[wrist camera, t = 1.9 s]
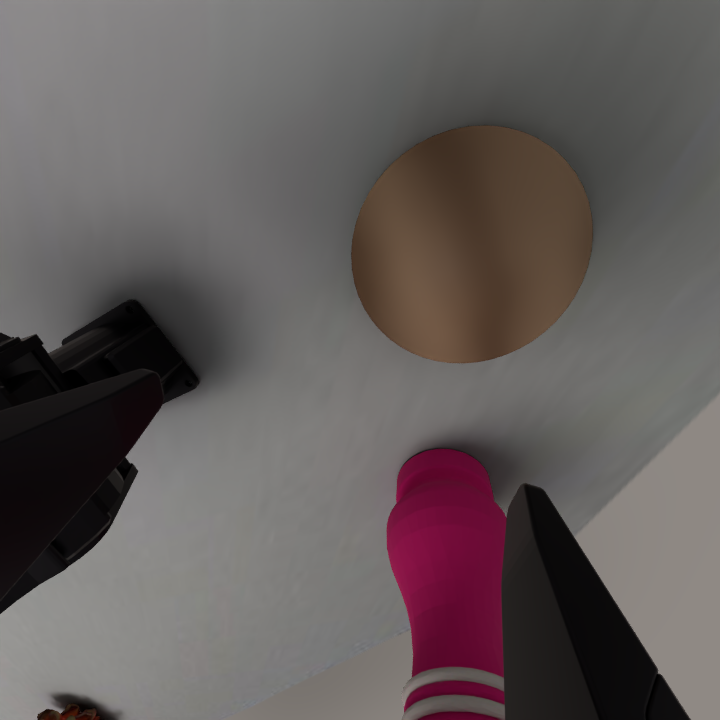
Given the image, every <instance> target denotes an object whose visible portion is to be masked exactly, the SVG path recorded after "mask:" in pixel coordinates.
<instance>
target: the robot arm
mask: <svg viewBox="0 0 720 720" xmlns="http://www.w3.org/2000/svg"><path fill="white" fill-rule="evenodd" d="M130 306H131V307H132V308H133V309H134V311H132V310H131V308H130ZM42 345H43V342H42V341H41V340H40V338H39V337H38V336H37V334H34V335H32V336H29V337H26V338H23V339H20V338H19V337H16V338H14V337H12V338H11V337H9V336H7V335H5V334H2V333H0V614H1V613H2V612H3V611H5V610H6V609H7V608H8V607H9V606H11V605H12V604H13V603H14V602H16V601H17V600H18V599H20V598H21V597H23V596H24V595H25V594H27V593H28V592H30V591H31V590H32V589H34V588H35V587H37V586H38V585H40V584H41V583H43V582H45V581H46V580H48V579H50V578H52V577H53V576H55V575H57V574H59V573H60V572H62V571H64V570H65V569H66V568H67V567H68V566H70V565H71V564H73V563H74V562H75V561H77V560H78V559H80V558H81V557H82V556H84V555H85V554H86V553H87V552H88V551H90V550H91V549H92V548H93V547H94V546H95V545H96V544H97V543H98V542H99V541H100V540H101V539H102V537H103V536H104V535H105V534H106V533H107V531H108V530H109V528H110V526H111V525H112V523H113V521H114V519H115V517H116V515H117V513H118V511H119V509H120V507H121V505H122V503H123V501H124V499H125V497H126V495H127V493H128V491H129V489H130V487H131V485H132V483H133V481H134V479H135V477H136V475H137V473H138V470H137V469H136V467H135V466H134V465H133V464H132V463H131V464H130V463H129V461H128V460H127V459H126V455H127V454H128V453H129V451H130V450H131V449H132V447H133V446H134V445H135V443H136V442H137V440H138V439H139V438H140V436H141V435H142V433H143V432H144V431H145V429H146V428H147V426H148V425H149V424H150V422H151V421H152V419H153V418H154V417H155V415H156V414H157V412H158V411H159V409H160V408H161V406H162V404H164V403H166V402H168V401H170V400H172V399H174V398H176V397H179V396H181V395H183V394H185V393H187V392H189V391H191V390H193V389H195V388H196V387H197V386H198V384H199V379H198V378H197V376H196V375H195V374H194V372H193V371H192V370H191V369H190V367H189V366H188V365H187V364H186V362H185V361H184V360H183V358H182V357H181V356H180V355H179V353H178V352H177V351H176V350H175V348H174V347H173V346H172V344H171V343H170V342H169V341H168V339H167V338H166V337H165V335H164V334H163V333H162V332H161V330H160V329H159V328H158V327H157V325H156V324H155V323H154V321H153V320H152V319H151V318H150V316H149V315H148V314H147V313H146V311H145V310H144V309H143V307H142V306H141V305H140V304H139V303H138V302H137V301H135V300H128V301H126V302H124V303H122V304H120V305H119V306H117V307H116V308H114V309H112V310H111V311H109V312H107V313H106V314H104V315H102V316H101V317H99V318H98V319H96V320H94V321H93V322H91V323H89V324H88V325H86V326H85V327H83V328H81V329H80V330H78V331H76V332H75V333H73V334H71V335H70V336H68V337H67V338H65V339H63V341H62V346H61V347H60V348H58V349H56V350H54V351H52V352H50V353H47V351H46V350H45V349H44V347H43V346H42ZM188 380H190V381H191V382H192V383H190V382H189V381H188ZM501 603H502V635H503V668H504V701H505V720H691V719H690V718H689V716H688V715H687V713H686V712H685V710H684V709H683V707H682V706H681V704H680V703H679V701H678V699H677V698H676V696H675V695H674V693H673V692H672V690H671V688H670V687H669V686H668V684H667V682H666V681H665V679H664V678H663V676H662V675H661V674H658V669H657V667H656V665H655V664H654V662H653V661H652V659H651V657H650V656H649V654H648V653H647V651H646V650H645V648H644V646H643V645H642V643H641V642H640V640H639V638H638V637H637V635H636V634H635V632H634V631H633V629H632V628H631V626H630V624H629V623H628V621H627V620H626V618H625V617H624V615H623V613H622V612H621V610H620V609H619V607H618V605H617V604H616V602H615V601H614V599H613V598H612V596H611V595H610V593H609V591H608V590H607V588H606V587H605V585H604V583H603V582H602V580H601V579H600V577H599V576H598V574H597V572H596V571H595V569H594V568H593V566H592V565H591V563H590V561H589V560H588V558H587V557H586V555H585V553H584V552H583V551H582V549H581V547H580V546H579V544H578V542H577V541H576V539H575V538H574V536H573V535H572V533H571V531H570V530H569V528H568V527H567V525H566V524H565V522H564V520H563V519H562V517H561V516H560V514H559V513H558V511H557V509H556V508H555V506H554V505H553V503H552V502H551V500H550V498H549V497H548V495H547V494H546V492H545V491H544V490H543V489H542V488H540V487H537V486H533V485H530V484H527V483H524V484H522V485H521V486H520V487H519V489H518V491H517V493H516V495H515V496H514V498H513V500H512V502H511V504H510V505H509V508H508V512H507V520H506V531H505V543H504V555H503V566H502V580H501Z"/></svg>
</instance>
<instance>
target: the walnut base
mask: <svg viewBox="0 0 720 720" xmlns="http://www.w3.org/2000/svg"><path fill="white" fill-rule="evenodd" d="M592 240H593V226H592V215H591V210H590V205H589V201H588V198H587V196H586V193H585V190H584V187H583V185H582V184H581V182H580V180H579V178H578V176H577V175H576V173H575V171H574V170H573V169H572V168H571V166H570V165H569V164H568V163H567V161H566V160H565V159H564V158H563V157H562V156H561V155H560V154H559V153H557V152H556V151H555V150H554V149H553V148H552V147H550V146H549V145H547V144H546V143H544V142H543V141H541V140H539V139H538V138H536V137H533V136H531V135H529V134H527V133H524V132H522V131H518V130H514V129H510V128H506V127H499V126H489V125H484V126H468V127H463V128H458V129H452V130H449V131H446V132H443V133H440V134H437V135H435V136H432V137H430V138H428V139H426V140H425V141H423V142H421V143H419V144H417V145H415V146H414V147H413V148H411V149H410V150H408V151H407V152H405V153H404V154H402V155H401V156H400V157H399V158H398V159H397V160H396V161H395V162H393V163H392V164H391V165H390V166H389V167H388V168H387V169H386V171H385V172H384V173H383V174H382V175H381V176H380V178H379V179H378V180H377V182H376V183H375V185H374V186H373V188H372V189H371V191H370V192H369V194H368V196H367V198H366V200H365V202H364V204H363V206H362V208H361V210H360V213H359V216H358V219H357V222H356V225H355V230H354V234H353V239H352V252H351V259H352V272H353V278H354V283H355V286H356V289H357V293H358V296H359V298H360V300H361V302H362V305H363V307H364V309H365V310H366V312H367V313H368V315H369V317H370V318H371V320H372V321H373V322H374V323H375V325H376V326H377V327H378V328H379V329H380V330H381V331H382V332H383V333H384V334H385V335H386V336H387V337H388V338H389V339H390V340H392V341H393V342H395V343H396V344H397V345H399V346H400V347H402V348H404V349H406V350H407V351H409V352H411V353H413V354H416V355H419V356H421V357H424V358H427V359H431V360H435V361H440V362H447V363H472V362H480V361H485V360H490V359H494V358H497V357H500V356H503V355H506V354H508V353H511V352H513V351H515V350H517V349H520V348H521V347H523V346H525V345H526V344H528V343H530V342H532V341H533V340H534V339H536V338H537V337H538V336H540V335H541V334H542V333H544V332H545V331H546V330H547V329H548V328H549V327H550V326H551V325H553V324H554V323H555V322H556V321H557V319H558V318H559V317H560V316H561V315H562V314H563V313H564V311H565V310H566V309H567V307H568V306H569V304H570V303H571V301H572V300H573V299H574V297H575V295H576V293H577V291H578V289H579V288H580V286H581V284H582V281H583V279H584V276H585V273H586V271H587V268H588V264H589V260H590V255H591V251H592Z"/></svg>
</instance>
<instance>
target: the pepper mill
mask: <svg viewBox="0 0 720 720" xmlns="http://www.w3.org/2000/svg"><path fill="white" fill-rule="evenodd" d="M396 501H397V504H396V505H395V506H394V508H393V509H392V511H391V513H390V516H389V518H388V523H387V550H388V555H389V559H390V564H391V567H392V570H393V573H394V576H395V578H396V581H397V583H398V586H399V588H400V591H401V593H402V596H403V599H404V602H405V605H406V608H407V611H408V616H409V621H410V625H411V633H412V644H413V645H412V646H413V670H412V678H411V679H410V680H409V681H408V682H407V683H406V685H405V686H404V688H403V691H402V702H403V705H404V715H403V717H402V720H505V701H504V668H503V635H502V603H501V580H502V566H503V555H504V543H505V531H506V520H507V518H506V516H505V514H504V512H503V511H502V509H501V508H500V507H499V506H498V505H497V504H496V503H495V502H494V498H493V492H492V488H491V484H490V479H489V476H488V473H487V471H486V470H485V468H484V467H483V466H482V465H481V464H480V462H479V461H477V460H476V459H474V458H473V457H471V456H470V455H468V454H466V453H463V452H459V451H456V450H452V449H434V450H428V451H424V452H422V453H420V454H418V455H416V456H413V457H412V458H411V459H410V460H409V461H407V462H406V463H405V464H404V465H403V467H402V468H401V470H400V472H399V475H398V478H397V494H396Z"/></svg>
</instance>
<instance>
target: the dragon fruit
mask: <svg viewBox="0 0 720 720" xmlns="http://www.w3.org/2000/svg"><path fill="white" fill-rule="evenodd" d="M95 715H96V708H93V709H90V710H85V711H84V712H83V713H81V712H80V708H79V705H76V704H69V705H67V706H66V708H65V710H64V711H63V712H62V713H61V714H60V713H59V712H57V711H54V710H51V709H46V710H45V711H43V712H41V713H40V714H38V716H37V718H38V720H102V718H101V717H100V716H95Z"/></svg>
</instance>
